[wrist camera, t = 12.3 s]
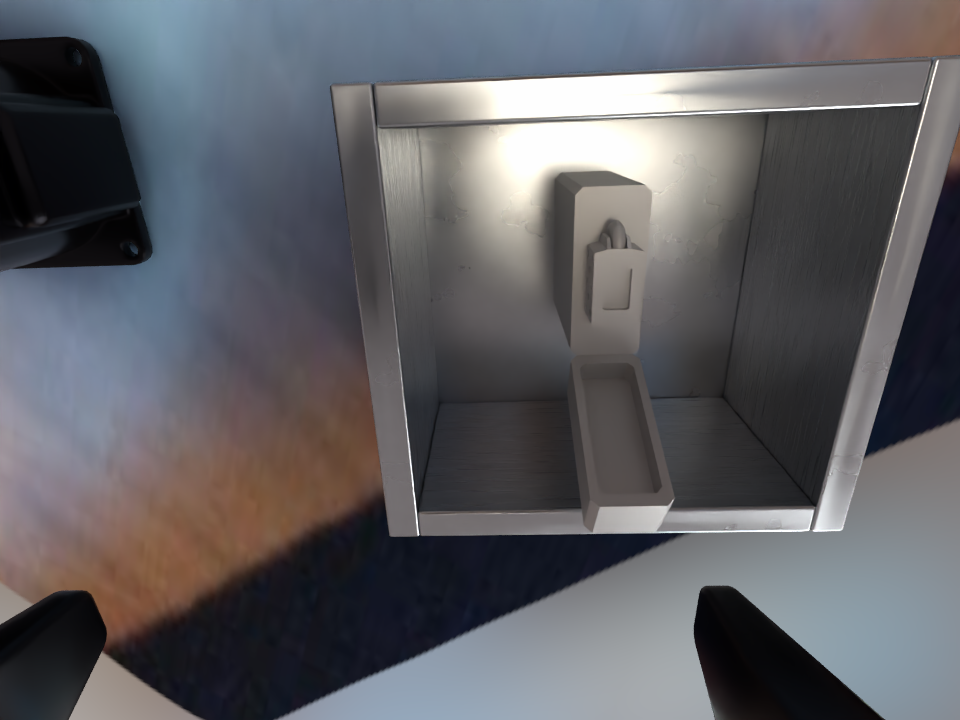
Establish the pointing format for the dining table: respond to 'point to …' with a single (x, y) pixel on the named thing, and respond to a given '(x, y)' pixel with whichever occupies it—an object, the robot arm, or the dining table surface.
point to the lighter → (608, 349)
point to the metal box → (668, 281)
